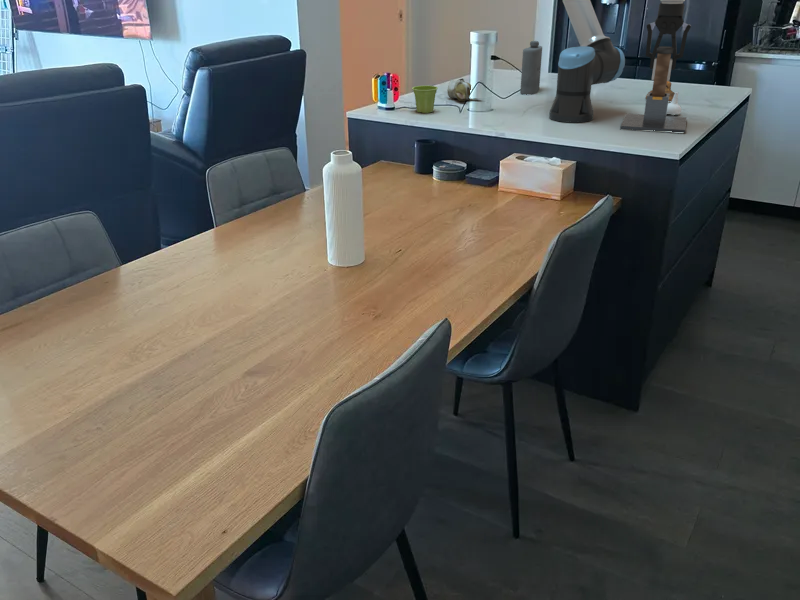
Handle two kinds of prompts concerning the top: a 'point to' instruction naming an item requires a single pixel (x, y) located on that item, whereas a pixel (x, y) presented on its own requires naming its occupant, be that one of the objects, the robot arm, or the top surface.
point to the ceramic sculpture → (459, 89)
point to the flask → (531, 68)
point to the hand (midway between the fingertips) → (660, 79)
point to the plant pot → (425, 98)
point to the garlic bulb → (674, 106)
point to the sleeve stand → (654, 117)
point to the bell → (668, 91)
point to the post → (661, 70)
